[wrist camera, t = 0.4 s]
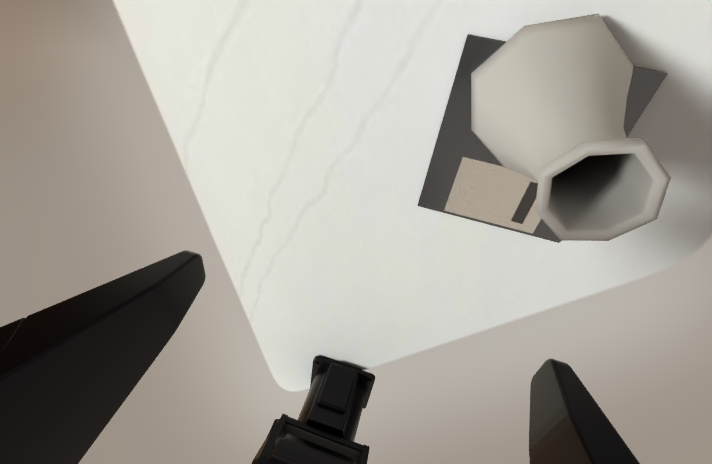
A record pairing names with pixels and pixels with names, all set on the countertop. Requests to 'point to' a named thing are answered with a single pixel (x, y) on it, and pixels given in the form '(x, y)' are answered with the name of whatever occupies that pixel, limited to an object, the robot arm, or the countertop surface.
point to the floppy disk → (480, 167)
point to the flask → (569, 128)
